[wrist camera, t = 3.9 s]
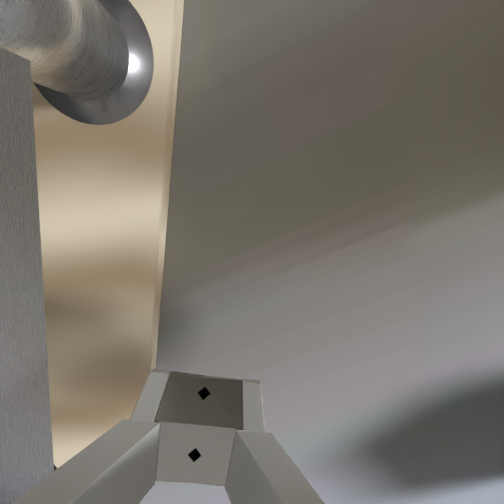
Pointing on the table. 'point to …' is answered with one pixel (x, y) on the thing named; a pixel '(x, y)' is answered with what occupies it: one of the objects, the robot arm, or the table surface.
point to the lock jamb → (106, 227)
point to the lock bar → (37, 206)
